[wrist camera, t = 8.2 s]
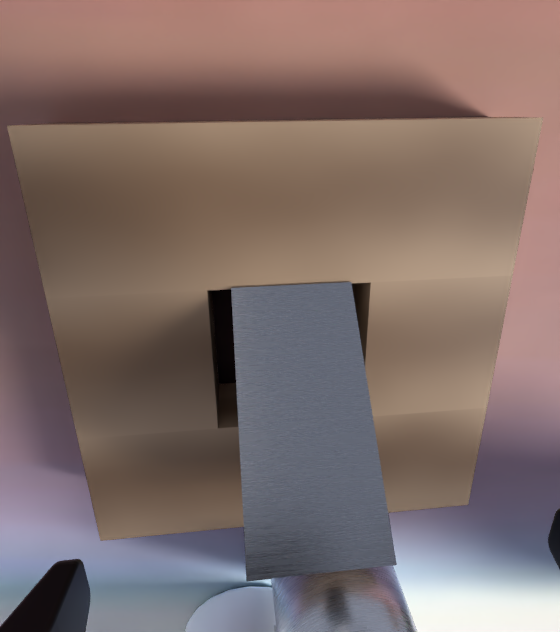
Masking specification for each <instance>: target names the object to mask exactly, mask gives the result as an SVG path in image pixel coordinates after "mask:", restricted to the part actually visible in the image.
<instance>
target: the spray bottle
mask: <svg viewBox="0 0 560 632" xmlns="http://www.w3.org/2000/svg"><path fill="white" fill-rule="evenodd" d="M185 632H276V622H275V612H274V603H273V593H272V588H271V587H256V586H248V587H242V588H237V589H231V590H228V591H225V592H223V593H221V594H218V595H216V596H213V597H211V598H210V599H209V600H207V601H206V602H205V603H203V604H202V605H201V606H199V607H198V608H197V609H196V611H195V612H194V614H193V615H192V617H191V618H190V620H189V621H188V623H187V625H186V630H185Z"/></svg>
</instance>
